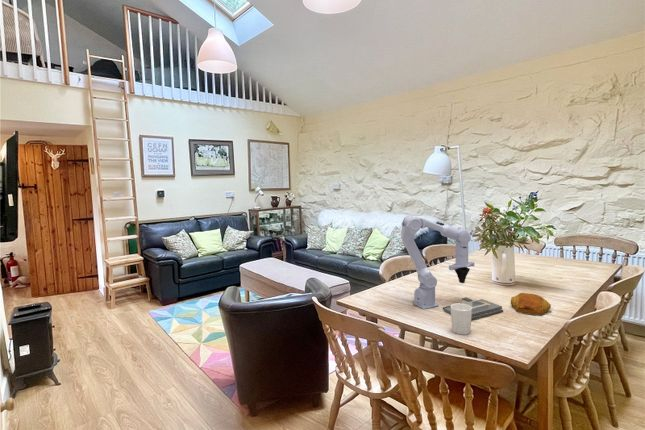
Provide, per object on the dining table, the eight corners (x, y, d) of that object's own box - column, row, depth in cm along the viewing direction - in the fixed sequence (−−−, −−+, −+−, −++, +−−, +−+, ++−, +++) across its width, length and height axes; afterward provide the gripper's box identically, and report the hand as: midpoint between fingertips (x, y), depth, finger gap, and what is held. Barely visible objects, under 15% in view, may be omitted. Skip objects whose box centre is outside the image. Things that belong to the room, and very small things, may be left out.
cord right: (469, 321, 149) (469, 319, 148) (467, 320, 149) (467, 318, 149) (503, 312, 157) (503, 309, 157) (501, 311, 158) (501, 309, 158)
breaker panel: (462, 320, 150) (462, 313, 150) (444, 311, 160) (443, 305, 160) (502, 309, 160) (502, 303, 160) (482, 302, 170) (482, 296, 170)
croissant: (515, 306, 169) (512, 289, 169) (553, 308, 159) (550, 291, 159) (507, 315, 158) (504, 297, 158) (547, 318, 148) (545, 299, 148)
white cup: (466, 326, 144) (466, 302, 143) (475, 334, 136) (475, 310, 135) (447, 327, 144) (447, 303, 143) (455, 336, 136) (455, 311, 135)
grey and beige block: (468, 310, 156) (468, 300, 156) (462, 307, 160) (462, 298, 159) (472, 309, 157) (472, 299, 157) (466, 306, 161) (466, 297, 160)
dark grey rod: (444, 309, 162) (444, 307, 162) (442, 309, 163) (442, 307, 163) (476, 301, 170) (476, 299, 170) (475, 301, 171) (475, 299, 171)
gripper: (456, 258, 161) (456, 287, 163) (479, 254, 167) (479, 282, 169) (445, 255, 168) (445, 283, 169) (468, 252, 174) (468, 278, 175)
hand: (461, 282), depth 169 cm, fingers closed
